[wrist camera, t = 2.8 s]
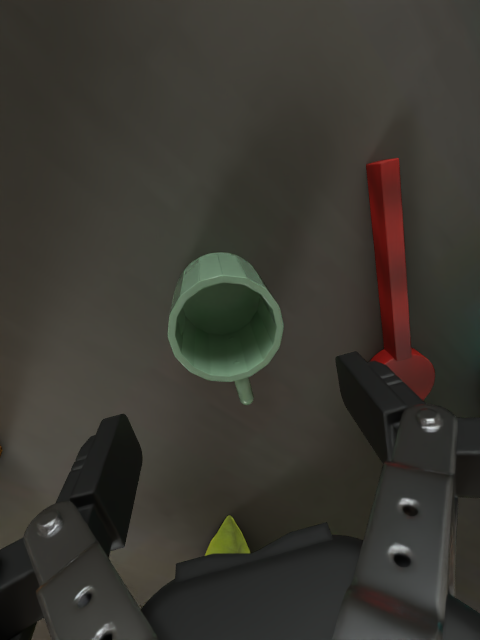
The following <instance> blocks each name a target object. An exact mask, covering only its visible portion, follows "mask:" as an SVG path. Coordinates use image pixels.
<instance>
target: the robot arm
mask: <svg viewBox="0 0 480 640" xmlns="http://www.w3.org/2000/svg"><path fill="white" fill-rule="evenodd" d="M336 367H337V373H338V379H339V386H340V392H341V396H342V399H343V402H344V404H345V406H346V408H347V410H348V411H349V413H350V414H351V416H352V417H353V419H354V420H355V422H356V423H357V425H358V426H359V428H360V429H361V431H362V432H363V434H364V435H365V437H366V439H367V440H368V442H369V443H370V445H371V446H372V448H373V449H374V451H375V452H376V454H377V455H378V457H379V458H380V460H381V461H382V463H383V467H382V471H381V475H380V479H379V483H378V486H377V490H376V494H375V498H374V502H373V505H372V509H371V513H370V517H369V521H368V524H367V528H366V532H365V536H364V540H361V539H358V538H354V537H349V536H342V535H331V532H330V529H329V527H328V524H327V522H326V523H322V524H319V525H315V526H311V527H308V528H304V529H301V530H297V531H293V532H290V533H288V534H286V535H285V536H283V537H281V538H279V539H278V540H276V541H274V542H272V543H270V544H269V545H267V546H265V547H263V548H262V549H260V550H258V551H256V552H254V553H213V554H210V555H206V556H202V557H199V558H195V559H191V560H188V561H184V562H181V563H177V564H176V575H175V579H174V580H172V581H171V582H169V583H168V584H167V585H165V586H164V587H162V588H161V589H160V590H159V591H158V592H157V593H155V594H154V595H153V596H152V597H151V598H150V600H149V601H148V602H147V603H146V604H145V605H144V606H143V608H142V609H140V608H139V606H138V605H137V603H136V601H135V600H134V598H133V597H132V595H131V593H130V592H129V590H128V589H127V587H126V585H125V584H124V582H123V581H122V579H121V577H120V576H119V574H118V573H117V571H116V569H115V568H114V566H113V565H112V563H111V561H110V560H109V554H110V551H112V550H116V549H120V548H123V547H125V542H126V538H127V533H128V528H129V523H130V519H131V514H132V509H133V504H134V500H135V495H136V490H137V485H138V481H139V476H140V471H141V466H142V451H141V447H140V444H139V442H138V440H137V438H136V435H135V433H134V431H133V429H132V427H131V424H130V422H129V420H128V418H127V416H126V415H125V414H120V415H116V416H113V417H109V418H105V419H103V420H102V421H101V423H100V426H99V428H98V431H97V433H96V435H95V436H91V437H90V438H89V439H88V440H87V442H86V443H85V444H84V445H83V446H82V447H81V449H80V451H79V453H78V455H77V457H76V462H74V464H73V466H72V468H71V472H70V473H69V475H68V477H67V479H66V481H65V484H64V486H63V488H62V490H61V492H60V495H59V497H58V499H57V501H56V503H55V504H53V505H51V506H49V507H47V508H46V509H44V510H43V511H42V512H40V513H39V514H38V515H37V516H36V517H35V518H34V519H33V520H32V521H31V523H30V524H29V526H28V527H27V529H26V531H25V533H24V537H23V538H22V539H20V540H18V541H16V542H14V543H12V544H10V545H8V546H6V547H5V548H3V549H1V550H0V640H31V638H32V635H33V632H34V629H35V626H36V623H37V621H39V620H40V619H42V618H45V621H46V624H47V627H48V630H49V633H50V636H51V639H52V640H480V613H478V612H477V611H475V610H474V609H472V608H470V607H469V606H467V605H466V604H464V603H463V602H461V601H460V600H458V599H457V598H455V573H456V540H457V518H458V497H466V498H480V418H457V417H455V415H454V414H453V413H452V412H450V411H449V410H447V409H445V408H443V407H441V406H437V405H433V404H426V403H425V402H424V401H423V400H422V399H421V398H420V397H419V396H418V395H417V394H416V393H415V392H414V391H413V390H412V389H411V388H410V387H409V386H407V385H406V384H405V383H404V382H402V380H401V379H400V378H399V377H398V376H397V375H395V373H394V372H393V371H392V370H391V369H390V368H389V367H388V366H387V365H384V364H382V363H380V362H377V361H375V360H373V361H370V362H366V361H365V360H364V359H363V358H362V357H361V355H360V354H359V353H358V352H356V351H355V352H351V353H347V354H344V355H340V356H337V357H336Z"/></svg>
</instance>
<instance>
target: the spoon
mask: <svg viewBox="0 0 480 640" xmlns="http://www.w3.org/2000/svg"><path fill="white" fill-rule="evenodd" d="M366 170H367V180H368V190H369V200H370V210H371V220H372V230H373V240H374V250H375V260H376V271H377V281H378V291H379V301H380V311H381V321H382V331H383V341H384V350H382V351H380V352H379V353H377V354H376V355H375V356H374V357H373V358H372V359H371V360H370V361H373V360H375V361H377V362H380V363H382V364H384V365H387V366H388V367H389V368H390V369H391V370H392V371H393V372H394V373H395V375H397V376H398V377H399V378H400V379H401V380H402V382H404V383H405V384H406V385H407V386H409V387H410V388H411V389H412V390H413V391H414V392H415V393H416V394H417V395H418V396H419V397H420V398H421V399H422V400H424V399H425V398H426V397H427V395H428V394H429V393H430V391H431V389H432V387H433V385H434V381H435V370H434V367H433V365H432V363H431V362H430V361H429V360H428V359H427V358H426V357H424V356H423V355H422V354H421V353H419V352H418V351H417V350H415V349H414V348H412V347H411V337H410V321H409V306H408V291H407V275H406V260H405V244H404V229H403V214H402V198H401V183H400V167H399V158H395V159H387V160H381V161H377V162H373V163H370V164H367V165H366ZM370 361H369V362H370Z"/></svg>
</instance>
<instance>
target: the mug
mask: <svg viewBox="0 0 480 640" xmlns="http://www.w3.org/2000/svg"><path fill="white" fill-rule="evenodd" d="M283 329H284V325H283V320H282V316H281V311H280V307H279V305H278V303H277V302H276V300H275V299H274V297H273V296H272V294H271V292H270V291H269V289H268V288H267V286H266V285H265V283H264V281H263V280H262V278H261V277H260V276H259V274H258V273H257V271H256V270H255V269H254V267H253V266H252V265H251V264H250V263H248V262H247V261H246V260H244V259H243V258H241V257H239V256H236V255H234V254H230V253H221V252H219V253H211V254H207V255H204V256H201V257H199V258H197V259H196V260H194V261H193V262H192V263H191V264H189V265H188V266H187V268H186V269H185V270H184V271H183V273H182V274H181V276H180V278H179V281H178V283H177V285H176V289H175V293H174V298H173V302H172V306H171V311H170V315H169V325H168V339H169V342H170V345H171V348H172V350H173V353H174V356H175V357H176V358H177V359H178V360H179V361H180V363H181V364H182V365H183V366H184V367H185V368H186V369H187V370H188V371H190V372H191V373H193V374H195V375H198V376H200V377H202V378H204V379H206V380H209V381H222V382H232V381H234V382H235V385H236V389H237V392H238V395H239V399H240V401H241V403H242V404H244V405H249V404H251V403H252V402H253V400H254V396H253V392H252V388H251V384H250V380H249V377H250V376H252V375H253V374H255V373H256V372H258V371H259V370H261V369H262V368H263V367H265V366H266V365H267V364H268V363H269V362H270V361H271V359H272V358H273V356H274V355H275V353H276V352H277V350H278V349H279V347H280V343H281V338H282V333H283Z"/></svg>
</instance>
